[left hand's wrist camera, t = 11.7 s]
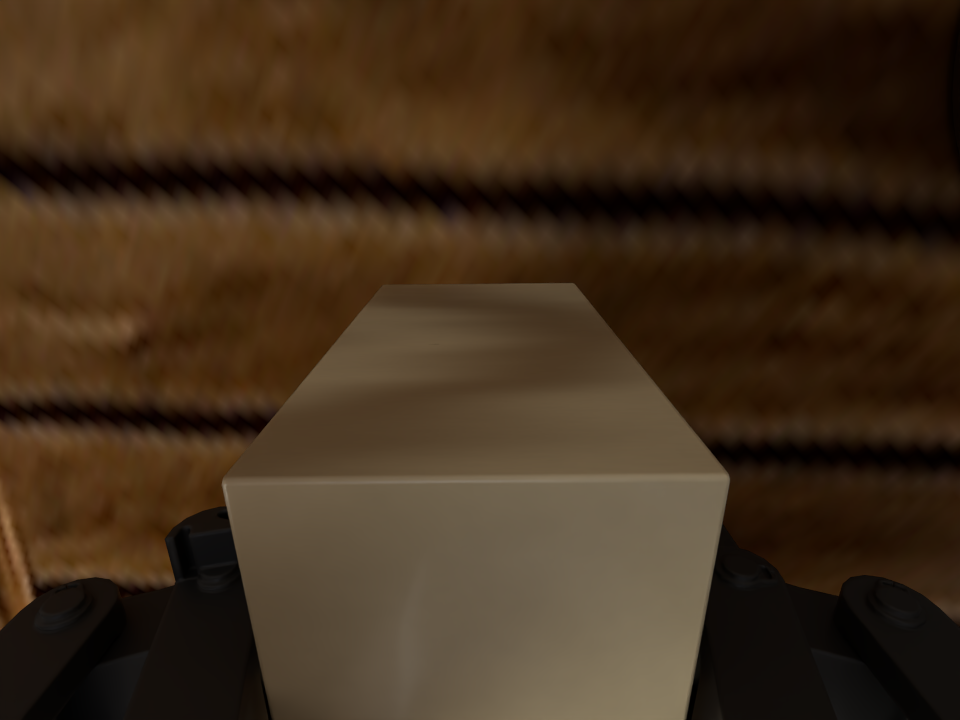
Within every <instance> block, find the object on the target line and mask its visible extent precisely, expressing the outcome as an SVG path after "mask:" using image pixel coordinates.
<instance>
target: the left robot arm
mask: <svg viewBox="0 0 960 720" xmlns="http://www.w3.org/2000/svg"><path fill="white" fill-rule="evenodd" d="M952 103H953V122H954V129H955V136H956V143H957V147H958V151H959V155H960V31H959V35H958V41H957V47H956V54H955V61H954V70H953V88H952ZM165 542H166V546H167V549H168V553H169V557H170V561H171V565H172V569H173V573H174V577H175V581H176V582H175V585H174V586H170V587H167V588H164V589H160V590H156V591H152V592H147V593H143V594H139V595H134V596H130V597H126V598H121V596H120V593H119V589H118V586H117V585H116V584H114V583H113V582H112V581H111V580H110V579H104V578H97V577H94V578H87V579H80V580H76V581H73V582H70V583H67V584H64V585H61V586H58V587H56V588H54V589H52V590H50V591H48V592H47V593H45V594H43V595H41V596H39V597H37V598H36V599H35V600H34V601H32V602H31V603H30V604H28V605H27V606H26V607H25V608H23V609H22V610H21V611H20V612H19V613H18V614H17V615H16V616H15V617H14V618H13V619H12V620H11V621H10V622H9V623H8V624H7V625H6V626H5V627H4V628H3V629H2V630H1V631H0V720H272V719H271V714H270V709H269V705H268V700H267V695H266V691H265V686H264V681H263V676H262V672H261V667H260V662H259V657H258V653H257V648H256V643H255V639H254V634H253V629H252V624H251V620H250V615H249V610H248V606H247V601H246V596H245V591H244V587H243V582H242V577H241V572H240V568H239V563H238V558H237V554H236V549H235V544H234V539H233V535H232V530H231V525H230V521H229V516H228V511H227V506H226V507H217V508H213V509H209V510H205V511H202V512H199V513H197V514H195V515H193V516H190V517H188V518H186V519H185V520H183V521H182V522H181V523H179V524H178V525H177V526H175V527H174V528H173V529H172V530H171V531H170V533H169V534H168V535H167V537H166V538H165ZM686 720H960V628H959V627H958V626H957V625H956V624H955V623H954V622H953V621H952V620H951V619H950V618H949V617H948V616H947V615H946V614H945V613H944V612H943V611H942V610H941V609H940V608H939V607H937V606H936V605H935V604H934V603H932V602H931V601H930V600H929V599H927V598H926V597H925V596H923V595H922V594H920V593H918V592H916V591H914V590H912V589H911V588H909V587H907V586H905V585H903V584H900V583H897V582H895V581H892V580H888V579H886V578H882V577H875V576H868V575H862V576H855V577H850V578H849V579H848V580H847V581H846V582H844V583H843V585H842V588H841V591H840V595H839V596H835V595H831V594H826V593H822V592H818V591H813V590H809V589H804V588H800V587H797V586H793V585H790V584H787V583H785V581H784V580H783V578H782V577H781V575H780V574H779V572H778V570H777V569H776V568H775V567H773V566H772V565H771V564H770V563H768V562H767V561H766V560H765V559H763V558H761V557H760V556H758V555H756V554H754V553H752V552H750V551H747V550H743V549H740V548H739V547H738V546H737V544H736V543H735V541H734V540H733V539H732V537H731V536H730V534H729V533H728V531H727V530H726V528H725V527H724V525H723V524H722V527H721V533H720V538H719V544H718V549H717V555H716V560H715V565H714V571H713V576H712V582H711V587H710V593H709V598H708V604H707V609H706V615H705V620H704V625H703V631H702V636H701V642H700V647H699V653H698V658H697V664H696V669H695V674H694V680H693V685H692V691H691V696H690V702H689V707H688V713H687V718H686Z"/></svg>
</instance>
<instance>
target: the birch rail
mask: <svg viewBox="0 0 960 720" xmlns="http://www.w3.org/2000/svg"><path fill="white" fill-rule="evenodd" d="M729 484H730V477H729V474H728V472H727V471H726V470H725V469H724V468H723V466H722V465H721V464H720V463H719V461H718V460H717V459H716V458H715V456H714V455H713V454H712V453H711V451H710V450H709V449H708V448H707V447H706V445H705V444H704V443H703V442H702V440H701V439H700V438H699V437H698V435H697V434H696V433H695V432H694V431H693V429H692V428H691V427H690V426H689V424H688V423H687V422H686V421H685V419H684V418H683V417H682V416H681V414H680V413H679V412H678V411H677V410H676V408H675V407H674V406H673V405H672V403H671V402H670V401H669V400H668V398H667V397H666V396H665V395H664V394H663V392H662V391H661V390H660V389H659V387H658V386H657V385H656V384H655V382H654V381H653V380H652V379H651V377H650V376H649V375H648V374H647V373H646V371H645V370H644V369H643V368H642V366H641V365H640V364H639V363H638V361H637V360H636V359H635V358H634V357H633V355H632V354H631V353H630V352H629V350H628V349H627V348H626V347H625V345H624V344H623V343H622V342H621V340H620V339H619V338H618V337H617V336H616V334H615V333H614V332H613V331H612V329H611V328H610V327H609V326H608V324H607V323H606V322H605V321H604V319H603V318H602V317H601V316H600V315H599V313H598V312H597V311H596V310H595V308H594V307H593V306H592V305H591V303H590V302H589V301H588V300H587V299H586V297H585V296H584V295H583V294H582V292H581V291H580V290H579V289H578V287H577V286H576V285H575V284H574V283H531V284H420V285H383V286H382V287H381V288H380V289H379V290H378V291H377V293H376V294H375V295H374V296H373V297H372V299H371V300H370V301H369V302H368V304H367V305H366V306H365V307H364V308H363V310H362V311H361V312H360V313H359V314H358V316H357V317H356V318H355V319H354V320H353V322H352V323H351V324H350V325H349V326H348V328H347V329H346V330H345V331H344V332H343V334H342V335H341V336H340V337H339V339H338V340H337V341H336V342H335V343H334V345H333V346H332V347H331V348H330V349H329V351H328V352H327V353H326V354H325V355H324V357H323V358H322V359H321V360H320V361H319V363H318V364H317V365H316V366H315V368H314V369H313V370H312V371H311V372H310V374H309V375H308V376H307V377H306V378H305V380H304V381H303V382H302V383H301V384H300V386H299V387H298V388H297V389H296V390H295V392H294V393H293V394H292V395H291V397H290V398H289V399H288V400H287V401H286V403H285V404H284V405H283V406H282V407H281V409H280V410H279V411H278V412H277V413H276V415H275V416H274V417H273V418H272V419H271V421H270V422H269V423H268V424H267V426H266V427H265V428H264V429H263V430H262V432H261V433H260V434H259V435H258V436H257V438H256V439H255V440H254V441H253V442H252V444H251V445H250V446H249V447H248V448H247V450H246V451H245V452H244V453H243V455H242V456H241V457H240V458H239V459H238V461H237V462H236V463H235V464H234V465H233V467H232V468H231V469H230V470H229V471H228V473H227V474H226V475H225V476H224V478H223V481H222V488H223V492H224V497H225V502H226V506H227V511H228V516H229V521H230V525H231V530H232V535H233V539H234V544H235V549H236V554H237V558H238V563H239V568H240V572H241V577H242V582H243V587H244V591H245V596H246V601H247V606H248V610H249V615H250V620H251V624H252V629H253V634H254V639H255V643H256V648H257V653H258V657H259V662H260V667H261V672H262V676H263V681H264V686H265V691H266V695H267V700H268V705H269V709H270V714H271V719H272V720H686V718H687V713H688V707H689V702H690V696H691V691H692V685H693V680H694V674H695V669H696V664H697V658H698V653H699V647H700V642H701V636H702V631H703V625H704V620H705V615H706V609H707V604H708V598H709V593H710V587H711V582H712V576H713V571H714V565H715V560H716V555H717V549H718V544H719V538H720V533H721V527H722V522H723V516H724V511H725V506H726V500H727V495H728V489H729Z"/></svg>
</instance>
